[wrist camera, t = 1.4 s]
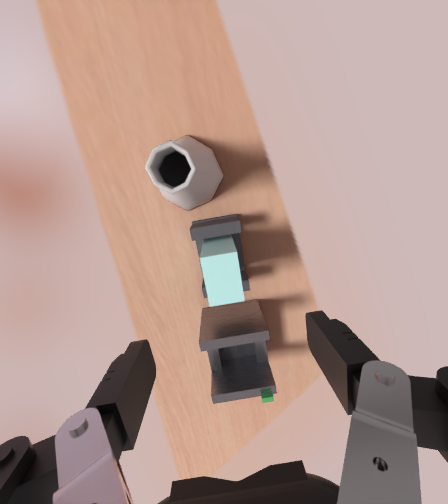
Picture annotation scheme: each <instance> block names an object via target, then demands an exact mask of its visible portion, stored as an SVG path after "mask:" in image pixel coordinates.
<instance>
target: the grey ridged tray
mask: <svg viewBox="0 0 448 504" xmlns="http://www.w3.org/2000/svg"><path fill="white" fill-rule="evenodd" d="M190 233H191V238H192V241H194V240H196V244H197V249H198V254H199V259H200V254H201V249H202V244H203V239H206V238H212V237H217V236H223V235H229V234H231V236H232V239H233V241H234V244H235V247H236V250H237V255H238V259H239V266H240V272H241V278H242V285H243V291H249V290H250V286H249V280H248V277H247V274H246V272H245V267H244V260H243V254H242V247H241V240H240V234H239V233H241V225H240V220H239V219H238V217H237V215H236V214H234V215H228V216H222V217H216V218H211V219H205V220H199V221H193V222H192V226H191V227H190ZM200 264H201V262H200ZM201 269H202V267H201ZM202 274H203V272H202ZM202 291H203V295H204V298H208V296H207V291H206V286H205V281H204V277H203V283H202Z"/></svg>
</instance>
